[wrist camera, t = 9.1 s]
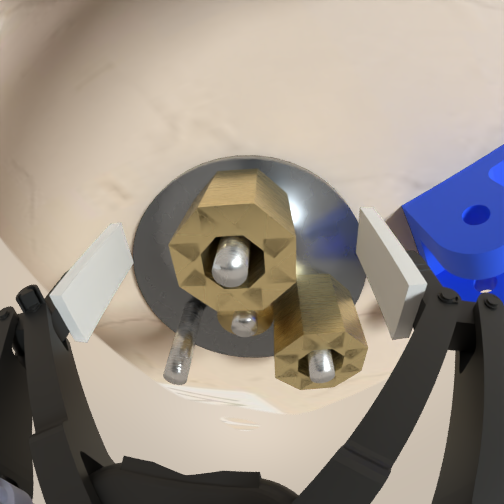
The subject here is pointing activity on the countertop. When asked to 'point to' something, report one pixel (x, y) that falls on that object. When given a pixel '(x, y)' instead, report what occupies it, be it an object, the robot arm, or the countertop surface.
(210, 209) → the octagonal wooden tube
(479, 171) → the bracket
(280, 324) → the carrier
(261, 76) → the countertop surface
